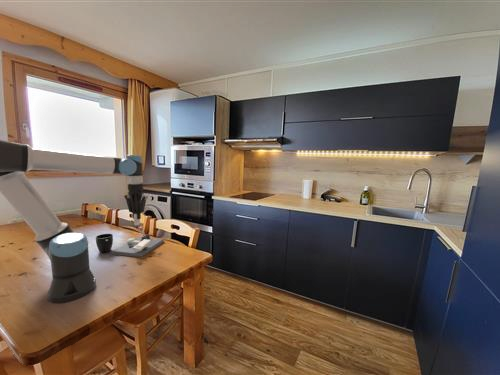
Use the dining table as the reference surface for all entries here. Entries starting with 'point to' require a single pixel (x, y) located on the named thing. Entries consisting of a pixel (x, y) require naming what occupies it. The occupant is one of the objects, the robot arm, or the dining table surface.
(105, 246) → the mug
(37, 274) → the dining table surface
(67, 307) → the dining table surface
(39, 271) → the dining table surface
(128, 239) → the button
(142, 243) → the rocker
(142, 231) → the lever
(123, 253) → the panel
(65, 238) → the robot arm
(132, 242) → the slider
